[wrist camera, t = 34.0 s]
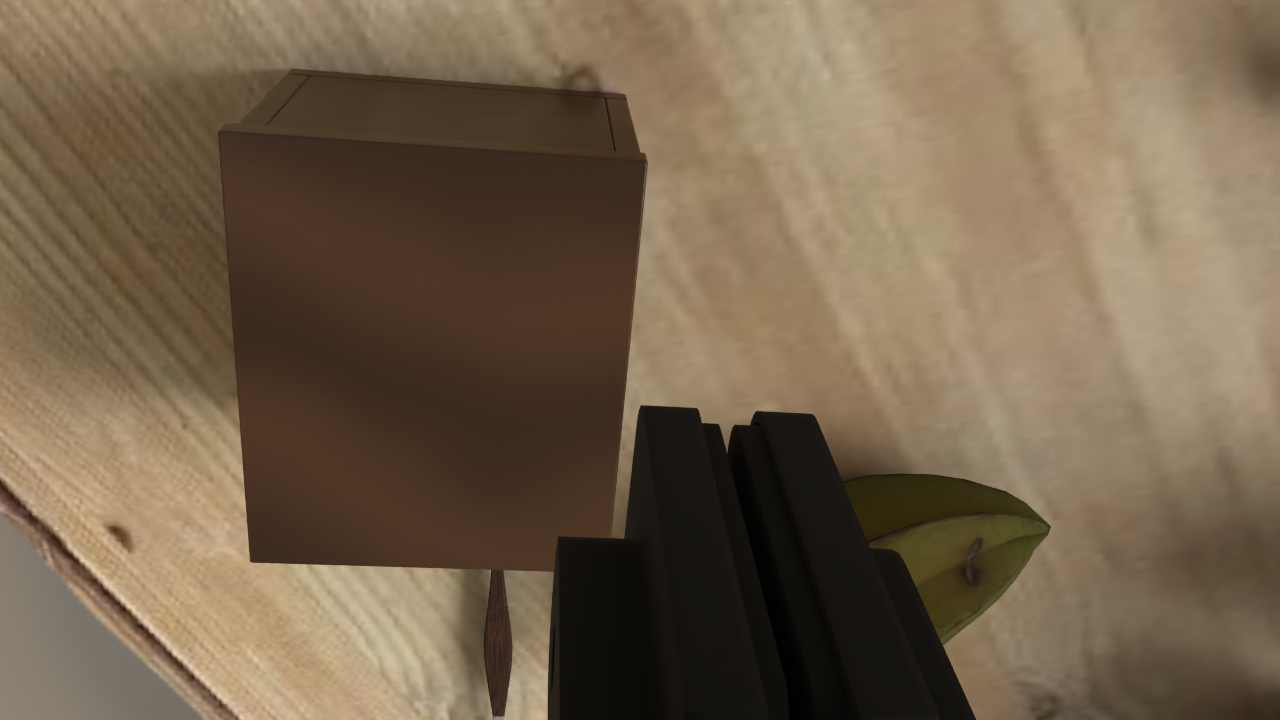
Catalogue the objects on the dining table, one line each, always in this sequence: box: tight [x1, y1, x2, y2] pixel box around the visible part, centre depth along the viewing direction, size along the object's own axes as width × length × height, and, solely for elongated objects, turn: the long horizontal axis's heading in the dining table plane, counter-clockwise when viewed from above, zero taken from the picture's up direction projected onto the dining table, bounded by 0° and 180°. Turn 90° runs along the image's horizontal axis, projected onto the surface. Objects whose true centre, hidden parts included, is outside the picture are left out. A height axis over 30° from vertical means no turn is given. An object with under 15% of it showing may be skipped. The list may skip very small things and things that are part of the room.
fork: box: [484, 570, 512, 720], centre depth 45 cm, size 3×16×2 cm, turn 177°
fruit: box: [843, 474, 1051, 645], centre depth 41 cm, size 11×12×7 cm
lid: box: [218, 123, 648, 572], centre depth 30 cm, size 13×10×1 cm
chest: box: [240, 69, 640, 153], centre depth 34 cm, size 12×10×8 cm
